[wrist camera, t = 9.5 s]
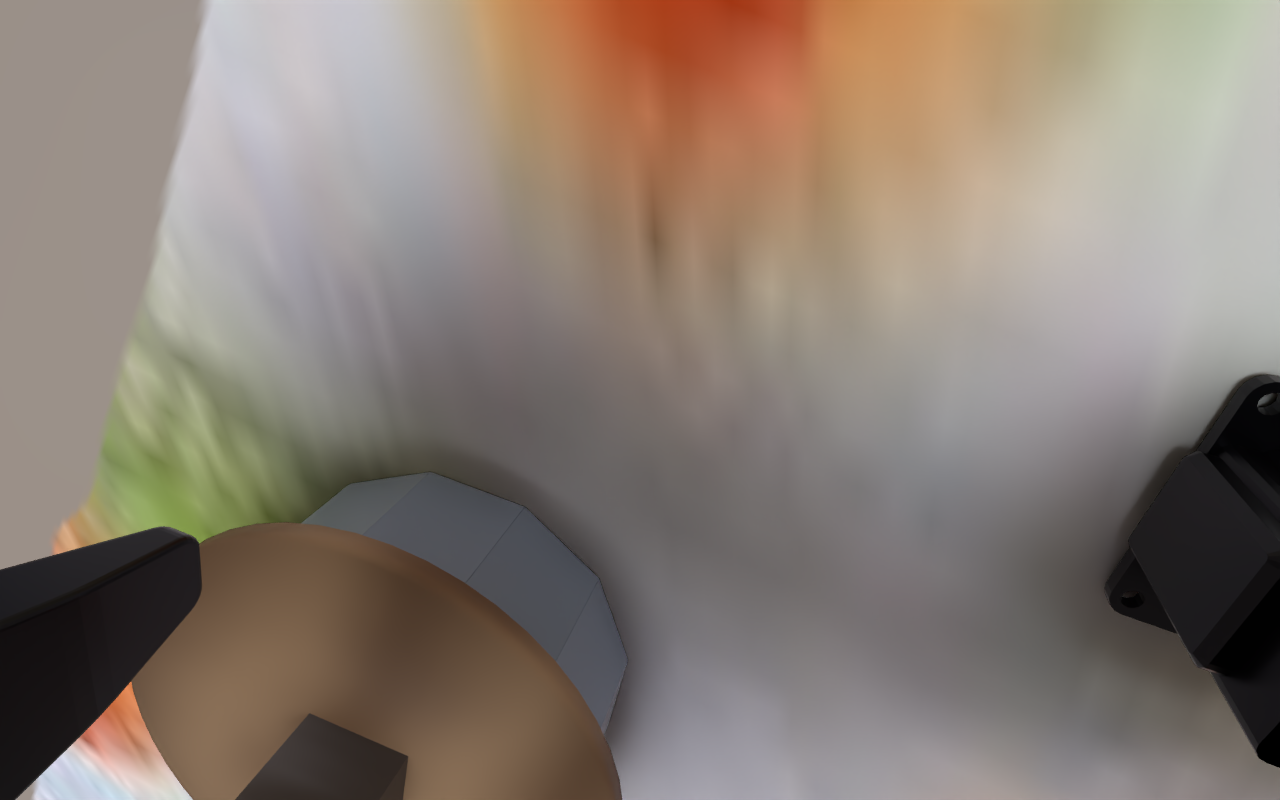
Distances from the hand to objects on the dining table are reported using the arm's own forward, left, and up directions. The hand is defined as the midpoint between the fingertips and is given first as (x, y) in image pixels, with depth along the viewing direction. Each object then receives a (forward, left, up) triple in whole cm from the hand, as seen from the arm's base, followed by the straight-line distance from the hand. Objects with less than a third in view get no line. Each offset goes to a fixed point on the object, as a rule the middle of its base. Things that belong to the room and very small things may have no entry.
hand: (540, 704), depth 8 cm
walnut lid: (+6, +13, -7) cm, 16 cm away
